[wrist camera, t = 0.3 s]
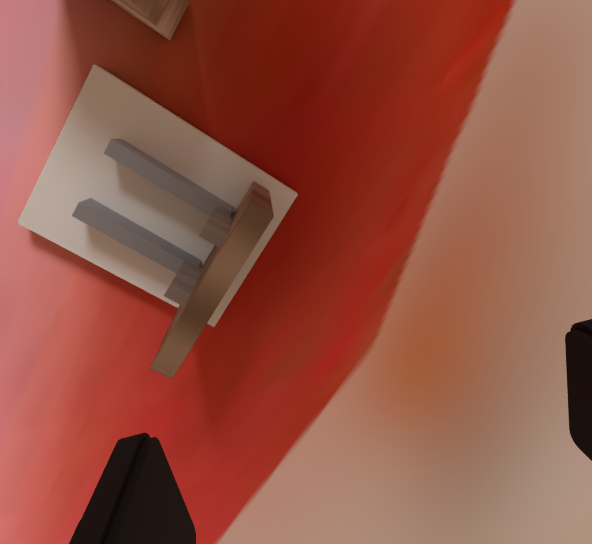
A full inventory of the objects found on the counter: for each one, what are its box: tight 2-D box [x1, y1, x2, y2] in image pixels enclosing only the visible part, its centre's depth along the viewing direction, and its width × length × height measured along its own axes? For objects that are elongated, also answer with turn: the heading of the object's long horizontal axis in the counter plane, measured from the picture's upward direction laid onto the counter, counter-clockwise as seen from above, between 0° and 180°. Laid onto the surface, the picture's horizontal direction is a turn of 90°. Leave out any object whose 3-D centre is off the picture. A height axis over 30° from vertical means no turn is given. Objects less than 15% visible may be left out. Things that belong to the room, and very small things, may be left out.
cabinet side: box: [150, 181, 274, 379], centre depth 31 cm, size 12×3×12 cm, turn 148°
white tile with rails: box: [18, 64, 298, 327], centre depth 35 cm, size 14×18×4 cm
